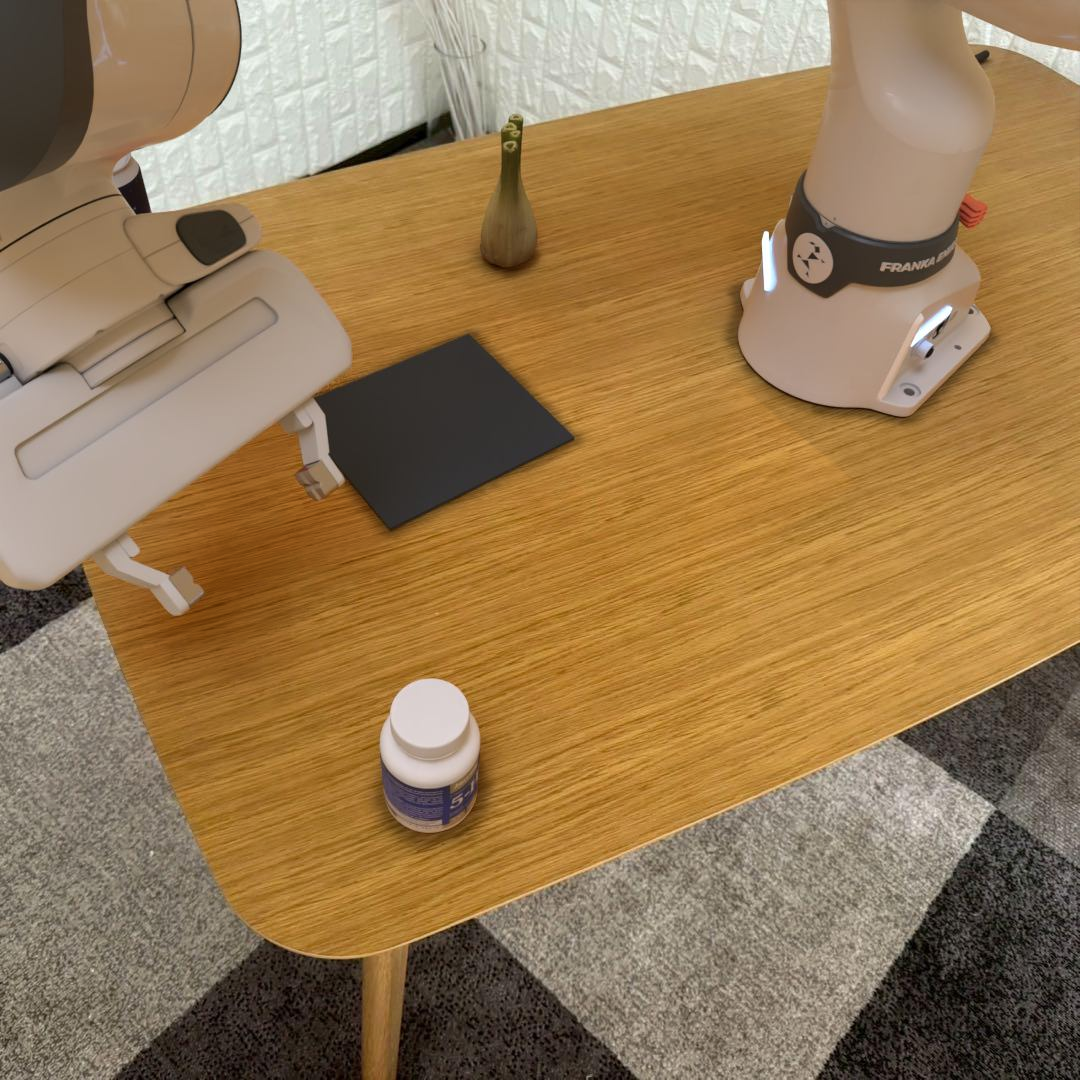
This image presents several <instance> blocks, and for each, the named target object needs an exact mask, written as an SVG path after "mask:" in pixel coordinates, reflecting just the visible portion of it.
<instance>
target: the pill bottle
mask: <svg viewBox="0 0 1080 1080" xmlns="http://www.w3.org/2000/svg"><path fill="white" fill-rule="evenodd" d="M481 742H482V741H481V732H480V728H479V724H478V723H477V720H476V718H475V716H474V715H473V714H472V712H471V711H470V706H469V702H468V700H467V698H466V696H465V694H464V693H463V692H462V691H461V690H460V689H459V688H458V686H456V685H454V684H453V683H452V682H449V681H447V680H444V679H440V678H435V677H434V678H432V677H431V678H430V677H429V678H421V679H418V680H414V681H412V682H410V683H408V684H407V685H405V686H404V687H403V688H402V689H400V690H399V691H398V692H397V694H396V696H395V697H394V699H392V703H391V705H390V710H389V715H388V716H387V718H386V719H385V721H384V723H383V725H382V727H381V731H380V735H379V756H380V767H381V777H382V779H381V780H382V786H383V787H382V788H383V797H384V801H385V804H386V806H387V809H388V810H389V812H390V814H391V815H392V816H393V818H394V819H395V820H396V821H397V822H398V823H400V825H402V826H404V827H406V828H407V829H410V830H412V831H415V832H419V833H423V834H424V833H426V834H433V833H440V832H444V831H447V830H449V829H451V828H454V827H456V826H457V825H458V824H460V823H461V822H462V821H463V820H465V818H467V816H468V815H469V814H470V812H471V811H472V809H473V807H474V806H475V803H476V801H477V796H478V791H479V772H480V759H481V757H480V756H481Z"/></svg>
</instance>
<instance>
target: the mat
mask: <svg viewBox="0 0 1080 1080" xmlns="http://www.w3.org/2000/svg"><path fill="white" fill-rule="evenodd" d="M313 398H314V400H315V401H316V403H317V404H318V405H319V407H320V408H321V410H322V411H323V413H324V414H325V418H326V427H327V436H328V444H329V453H328V455H329V456H330V458H331V459H332V461H333V462H334V464H335V465H336V466H337V468H338V469H339V471H340V472H341V474H342V475H343V476H344V478H346V479H347V480H348V482H349V483H350V484H351V485H352V486H353V488H354V489H355V490H356V491H357V493H358V494H359V495H360V496H361V497H362V499H363V500H364V501H365V502H366V504H367V505H368V506H369V507H370V508H371V510H372V511H373V512H374V514H375V515H376V516H377V517H378V518H379V519H380V521H381V522H382V523H383V524H384V525H385V527H386V528H387V529H388V531H390V532H391V531H393V530H395V529H397V528H399V527H402V526H403V525H405V524H407V523H409V522H412V521H413V520H415V519H417V518H419V517H421V516H423V515H425V514H428V513H429V512H431V511H433V510H436V509H437V508H439V507H441V506H443V505H445V504H448V503H450V502H452V501H454V500H456V499H458V498H459V497H461V496H463V495H466V494H468V493H469V492H472V491H474V490H476V489H478V488H480V487H482V486H484V485H486V484H488V483H490V482H492V481H494V480H496V479H498V478H500V477H502V476H504V475H506V474H508V473H510V472H513V470H516V469H518V468H521V467H523V466H524V465H526V464H528V463H530V462H533V461H534V460H536V459H538V458H541V457H542V456H544V455H546V454H549V453H551V452H553V451H555V450H557V449H559V448H561V447H563V446H564V445H567V444H569V443H571V442H573V441H575V436H574V435H573V434H572V432H570V431H569V430H568V429H567V428H566V427H565V426H564V425H563V424H562V423H561V422H560V421H559V420H558V419H557V418H556V417H555V416H554V415H552V413H551V412H550V411H549V410H548V409H546V407H544V406H543V405H542V403H540V401H538V399H536V397H534V396H533V394H532V393H530V392H529V391H528V390H527V389H526V388H525V387H524V386H523V385H522V383H520V382H519V381H518V380H517V379H516V378H515V377H514V376H513V375H512V374H511V373H510V371H508V370H506V368H505V367H503V365H502V364H501V363H500V362H499V361H498V360H497V359H496V358H494V356H493V355H492V354H490V353H489V351H488V350H486V349H485V348H484V346H482V345H481V344H480V343H479V341H477V340H476V339H475V338H474V337H473V336H472V335H471V334H470V333H466V334H464V335H461V336H459V337H457V338H454V339H452V340H450V341H447V342H445V343H442V344H439V345H437V346H435V347H433V348H430V349H428V350H425V351H423V352H420V353H418V354H416V355H414V356H411V357H409V358H406V359H404V360H402V361H401V360H400V361H399V362H397V363H395V364H392V365H390V366H389V365H388V366H387V367H385V368H382V369H380V370H378V371H375V372H372V373H370V374H368V375H365V376H363V377H360V378H358V379H356V380H353V381H351V382H348V383H346V384H344V385H342V386H339V387H336V388H334V389H332V390H330V391H327V392H324V393H322V394H319V395H317V396H315V397H313Z"/></svg>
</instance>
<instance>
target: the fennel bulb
mask: <svg viewBox="0 0 1080 1080" xmlns="http://www.w3.org/2000/svg"><path fill="white" fill-rule="evenodd" d="M507 119H508V121H507V123H506V124H504V125H503V126H502V128H501V129H500V146H501V147H500V149H501V151H500V153H501V161H500V163H501V164H500V165H501V167H500V168H501V169H500V174H499V176H498V179H497V182H496V185H495V188H494V189H493V192H492V194H491V196H490V199H489V201H488V205H487V207H486V211H485V213H484V217H483V221H482V225H481V228H480V244H479V251H480V253H481V255H482V257H483V259H485V260H486V261H487V262H489V263H490V264H492V265H497V266H498V267H502V268H512V267H515V266H518V265H520V264H522V263H525V262H527V261H528V260H529V259H531V258H532V257H533V255H534V253H535V250H536V248H537V245H538V237H539V236H538V228H537V223H536V219H535V216H534V213H533V209H532V207H531V203H530V200H529V198H528V195H527V192H526V190H525V187H524V183H523V180H522V171H521V169H522V168H521V162H522V148H523V147H522V146H523V131H524V116H522V114H520V113H512V114H511V115H510V116H509V117H508V118H507Z"/></svg>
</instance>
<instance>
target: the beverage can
mask: <svg viewBox="0 0 1080 1080" xmlns="http://www.w3.org/2000/svg"><path fill="white" fill-rule="evenodd" d="M113 179H114V182H115V184H116V186H117V188H118V190H119V191H120V193H121V194H122V196H123V197H124V199H125V200H126V201H127V203H128V204H129V206H130V207H131V208H132V210H133V211H134V212H135V214H136V215H138V214H145V213H153V212H152V209H151V208H152V207H151V204H150V201H149V196H148V193H147V188H146V184H145V180H144V177H143V173H142V169H141V166H140V164H139V163H138V161H137V160H136V159H135V158H134V157H133V155H132V152H131V153H129V154H127V155H126V156H124V157H123V158H122V159H121V160H119V161H118V162H117V163H116V165H115V167H114V169H113Z"/></svg>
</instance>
